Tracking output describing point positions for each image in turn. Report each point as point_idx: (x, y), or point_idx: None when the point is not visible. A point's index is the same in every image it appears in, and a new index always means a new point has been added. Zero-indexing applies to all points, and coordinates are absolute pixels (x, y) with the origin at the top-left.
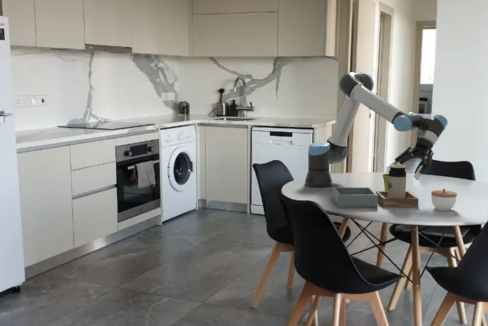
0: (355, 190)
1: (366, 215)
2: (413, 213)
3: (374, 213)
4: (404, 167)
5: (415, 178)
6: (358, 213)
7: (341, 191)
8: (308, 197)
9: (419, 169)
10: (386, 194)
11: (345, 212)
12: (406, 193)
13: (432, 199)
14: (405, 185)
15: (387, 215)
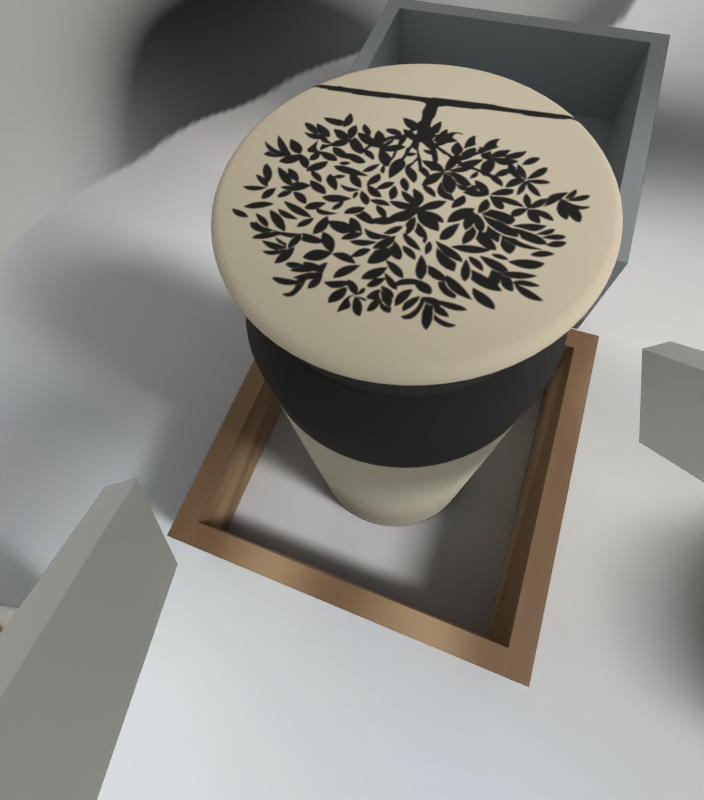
0: (615, 177)
1: (186, 142)
2: (77, 387)
3: (200, 189)
4: (221, 268)
5: (161, 535)
6: (240, 126)
7: (626, 106)
8: (694, 40)
9: (2, 631)
10: (549, 428)
11: (286, 86)
12: (505, 634)
13: (10, 608)
14: (311, 456)
15: (128, 227)
